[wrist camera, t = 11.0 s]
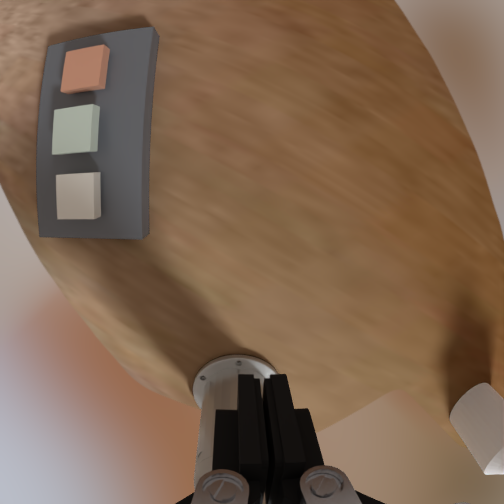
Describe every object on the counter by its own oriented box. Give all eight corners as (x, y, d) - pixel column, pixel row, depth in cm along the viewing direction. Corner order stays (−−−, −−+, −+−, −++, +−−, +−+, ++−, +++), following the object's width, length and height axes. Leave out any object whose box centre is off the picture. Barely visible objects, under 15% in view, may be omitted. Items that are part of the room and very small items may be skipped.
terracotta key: (105, 88, 28) (98, 85, 26) (68, 94, 28) (60, 91, 26) (110, 49, 27) (104, 44, 25) (73, 56, 26) (66, 51, 25)
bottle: (499, 378, 47) (564, 447, 23) (475, 420, 50) (527, 490, 26) (464, 385, 46) (533, 469, 22) (439, 429, 49) (492, 512, 25)
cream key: (101, 216, 32) (94, 219, 30) (65, 216, 31) (57, 219, 30) (100, 172, 30) (93, 172, 29) (64, 174, 30) (56, 175, 28)
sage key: (97, 151, 29) (90, 151, 27) (60, 154, 29) (51, 154, 27) (100, 106, 28) (92, 104, 26) (62, 111, 27) (54, 109, 26)
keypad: (149, 233, 36) (142, 239, 33) (51, 231, 35) (39, 237, 32) (159, 36, 30) (153, 26, 27) (59, 52, 29) (48, 46, 26)
